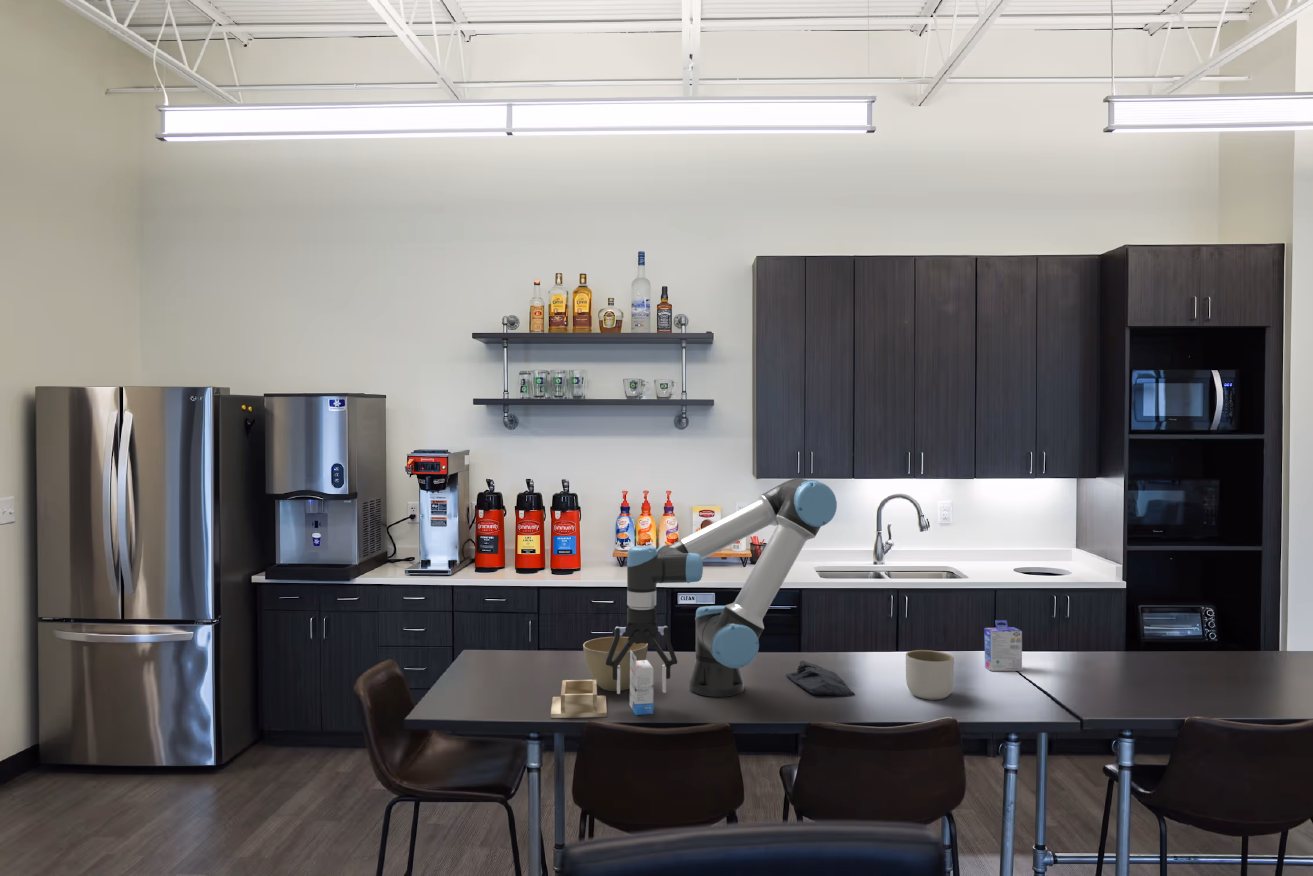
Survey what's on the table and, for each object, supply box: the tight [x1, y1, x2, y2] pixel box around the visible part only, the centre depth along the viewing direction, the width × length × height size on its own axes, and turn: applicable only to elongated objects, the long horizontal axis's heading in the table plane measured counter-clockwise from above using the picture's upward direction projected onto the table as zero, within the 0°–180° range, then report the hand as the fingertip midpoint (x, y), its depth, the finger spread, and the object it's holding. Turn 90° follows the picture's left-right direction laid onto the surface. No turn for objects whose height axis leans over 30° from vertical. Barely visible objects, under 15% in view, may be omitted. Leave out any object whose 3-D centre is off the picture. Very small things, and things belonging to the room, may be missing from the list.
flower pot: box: [582, 636, 649, 692], centre depth 239 cm, size 18×18×12 cm
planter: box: [905, 649, 955, 701], centre depth 232 cm, size 12×12×11 cm
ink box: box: [629, 650, 655, 716], centre depth 219 cm, size 8×5×15 cm, turn 13°
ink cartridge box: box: [983, 619, 1023, 672], centre depth 258 cm, size 10×6×14 cm, turn 92°
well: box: [550, 679, 608, 719], centre depth 220 cm, size 14×14×6 cm
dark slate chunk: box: [785, 660, 856, 697], centre depth 241 cm, size 15×22×5 cm
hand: (641, 691), depth 219 cm, fingers open, 11 cm apart
